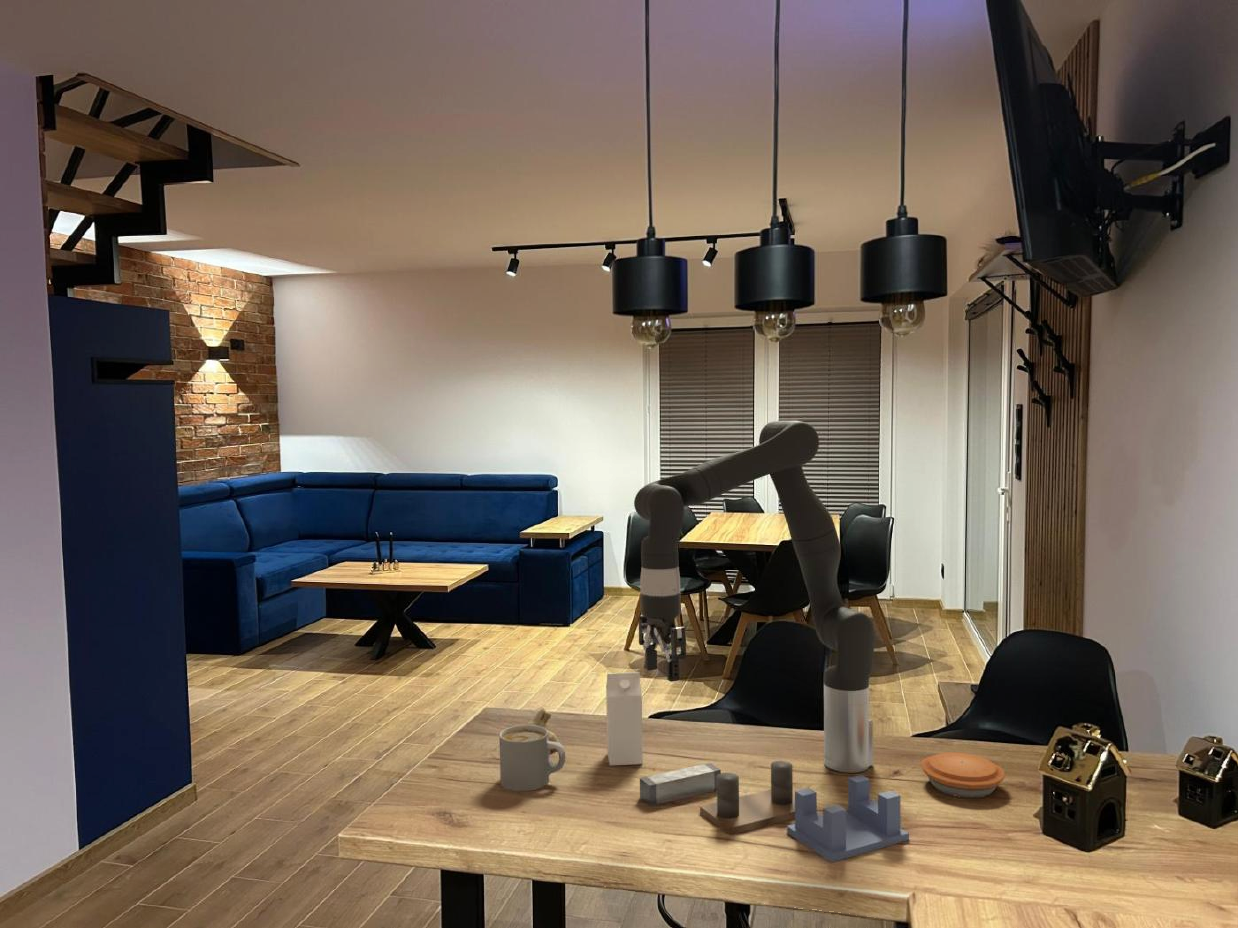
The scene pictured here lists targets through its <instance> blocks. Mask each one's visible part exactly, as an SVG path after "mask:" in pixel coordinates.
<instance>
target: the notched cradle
mask: <svg viewBox="0 0 1238 928" xmlns="http://www.w3.org/2000/svg"><path fill="white" fill-rule="evenodd" d="M847 779H848V780H847V781H848V782H847V783H848V788H847V789H848V790H847V791H848V797H847V798H848V799H847V800H848V802H847V803H848V809H846V808H844V807H843V806H841V805H839V804H833V805H830V806H826V807H822V814H821V813H819V812H818V811H817V807H818V806H817V804H818V801H817V794H818V793H817V792H816V791H814V790H813V789H811V788H810V787H806V788H801V789H797V790H795V791H794V797H795V818H794V823H793V824H788V825H786V833H787V834H789V836H791V837H793V838H794V839H795V840H797V841H799V842H801V844H803V845H805V846H806V847H808V848H809V849H810V850H811V851H813V852H814V853H816V854H817V855H819V856H821V857H822V858H824V859H825V860H826V861H828V862H829V863H835V862H838V861H841V860H846V859H849V858H852V857H856V856H859V855H862V854H865V853H869V852H873V851H876V850H879V849H880V850H881V849H883V848H886V847H890V846H892V845H896V844H900V843H904V842H906V841H910V833H909V832H908V831H906V830H905V829H903V828H901V823H902V822H901V813H902V812H901V795H900V794H899V793H897V792H895V791H893V790H888V791H884V792H880V793H878V794H877V801H876V800H874V799H872V798H870V795H871V794H870V793H871V791H870V789H871V788H870V787H871V786H870V785H871V783H870V782H871V781H870V778H868V777H866V776H864V775H862V774H860V775H856V776H851V777H848V778H847Z"/></svg>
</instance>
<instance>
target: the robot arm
mask: <svg viewBox="0 0 1238 928" xmlns="http://www.w3.org/2000/svg"><path fill="white" fill-rule="evenodd" d="M758 437H759V439H758V444H757V445H755V446H752V447H750V448H746V449H743V450H740V451H737V452H733V453H732V452H731V453H729V454H725V455H722V456H719V457H715V458H713V459H710V460H707V461H706V462H703V463H701V464H698V465H697V466H694V467H691V468H690V469H688V470H686V471H683V472H681V473H678V474H676V475H675V474H674V475H672V476H668V477H665V478H662V479H659V480H654V481H653V482H650V483H648V484H646V485H644V486H643V487H641V488H640V489H639V490H638V491H637V493H636V495H635V497H634V500H633V506H634V510H635V512H636V514H637V515H638V516H639V517H641V518H642V519H643V520H646V521H649V527H648V528H649V529H648V535H646V536H645V537H644V538H643V539H642V541H641V544H640V545H641V546H640V557H641V558H640V561H641V562H640V563H641V565H640V566H641V571H640V583H639V584H640V614H641V615H639V616H638V644H639V646H642V648H643V651H645V652H644V653H645V669H646V670H647V671H655V670H657V669H658V650H657V648H658V646H660V650H661V651H662V652H664V655H665V658H666V673H667V675H666V677H667V681H669V682H670V683H672V682H679V680H680V662H681V661H683V660H686V659H687V644H686V643H687V642H686V628H685V627H684V626H677V625H676V622H675V621H676V618H677V617H678V616H680V615H681V612H682V608H681V607H682V606H681V597H682V596H681V576H680V575H681V574H680V567H679V564H680V563H679V547H678V546H679V540H680V538H681V537H680V536H681V534H682V533H681V532H682V527H683V524H684V523H683V522H684V517H685V507H689V506H690V507H691V506H699V505H702V504H705V503H707V502H709V501H711V500H713V499H715V498H717V497H718V498H719V496H722V495H724V494H726V493H729V492H730V491H732V490H735V489H737V488H739V487H741V486H743V485H745V484H748V483H750V482H752V481H755V480H757V479H760V478H763V477H765V476H768V475H769V477H770V478H771V481H772V484H773V486H774V488H775V491H776V493H777V497H778V499H779V502H780V506H781V509H782V512H783V515H784V517H785V518H784V519H785V521H786V524H787V528H788V531H789V536H790V539H791V542H792V546H793V549H794V553H795V555H796V558H797V559H798V560H797V561H798V562H799V563H798V564H799V567H800V570H801V573H802V577H803V580H804V581H803V582H804V583H805V586H806V590H807V593H808V599H809V603H810V608H811V614H812V618H813V624H814V628H815V632H816V635H817V637H818V640H819V641H820V642H821V643H822V644H823V645H824V646H825V647H827V648H829V649H830V650H833V651H836V664H835V665H833V666H829V667H827V668H826V669H825V670H824V673H823V733H824V734H823V743H824V745H823V748H824V749H823V751H824V752H823V753H824V754H823V755H824V757H823V758H824V759H823V761H824V765H825V767H826V768H828V769H831V770H833V771H837V772H841V773H848V774H849V773H851V774H852V773H860V772H864V771H867V770H868V769H869V768H870V767H871V766H874V721H873V719H870V677H871V675H872V672H873V670H874V669H873V668H874V655H875V653H874V652H875V627H874V625H873V622H872V620H871V618H870V617H869V615H868V614H865V613H863V612H861V611H858V610H855V609H852V608H848V607H847V606H846V605H845V602H844V601H843V598H842V595H841V593H840V592H841V591H840V589H839V585H838V571H839V566H840V561H841V556H842V555H841V553H842V548H841V543H840V539H839V536H838V531H837V529H836V525H835V523H834V520H833V518H832V515H831V514H830V512H829V511H828V509H827V507H826V506H825V504H824V503H823V501H821V498H819V497H818V495H817V493H815V491H814V490H813V488H812V487H811V485H810V483H809V482H808V480H807V478H806V475H805V473H804V469H803V466H804V465H806V464H808V463H810V462H811V461H812V460H813V459H814V458H815V456H816V455H817V453H818V451H819V446H820V437H819V434H818V432H817V430H816V429H815V428H814V427H813V426H812V425H811V424H809V423H808V422H805V421H801V420H774V421H770V422H768V423H766V424H764V426H763V428H762V429H761V431H760V433H759V436H758Z"/></svg>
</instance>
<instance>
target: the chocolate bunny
mask: <svg viewBox="0 0 1238 928" xmlns="http://www.w3.org/2000/svg"><path fill="white" fill-rule="evenodd" d="M551 717H552V713H551V712H549V711H547V710H546V709H545V708H543V707H542V708H541V709H540V710H538V711H537V713H536V715H535V716H534V717H533V718H532V719H531V720H530V721H529V722H527V723H526V725H536V726H541V727H543V728H545V729H547V723H548V722H549V720H550V719H551ZM547 731H548V740H549V741H551V742H557V743H560V741H559V739H558V737H557V735H556V734H555V733H554V732H552V731H550V730H547ZM560 744H561V743H560ZM555 752H557V751H556V750H555V749H551V750H550V754H552V753H555Z"/></svg>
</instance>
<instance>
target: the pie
mask: <svg viewBox="0 0 1238 928" xmlns="http://www.w3.org/2000/svg"><path fill="white" fill-rule="evenodd" d="M920 768H921V769H922V771H923V772H924V773H925V775H926V776H927V777H928V780H929V781H930V783H931V784H932V786H933V788H935V789H936V788H937V789H938V790H937V789H936V790H937V791H939V790H940V791H939V792H941V791H942V792H941V793H943V792H944V793H943V794H946V793H947V794H946V795H949V796H952V795H956V796H960V797H959V798H962V797H971V798H970V799H974V798H973V797H981V798H984V797H983V796H986V795H988V796H990V795H991V794H992V793H993V792H994V791H995V789H996V788H997V787H998V786H999V785H1000V783H1001V782H1002V781H1003V780H1004V779H1005V774H1006V772H1005V771H1004V769H1003V768H1002V767H1001V766H999V765H997V764H995V763H993V762H992V761H991V760H989V759H987V758H985V757H981V756H979V755H975V754H970V753H964V752H941V753H937V754H933V755H931V756H928V757H925V758H923V759H922V760H921V761H920ZM956 796H955V797H956ZM986 797H987V796H986Z"/></svg>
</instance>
